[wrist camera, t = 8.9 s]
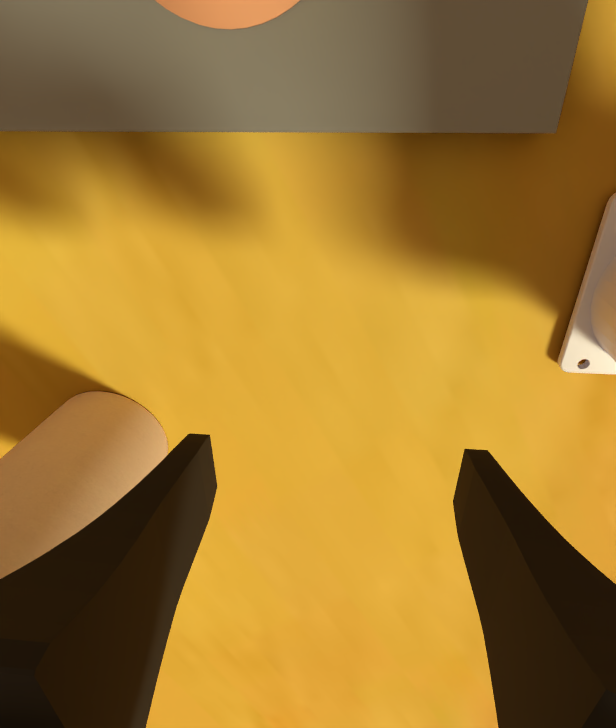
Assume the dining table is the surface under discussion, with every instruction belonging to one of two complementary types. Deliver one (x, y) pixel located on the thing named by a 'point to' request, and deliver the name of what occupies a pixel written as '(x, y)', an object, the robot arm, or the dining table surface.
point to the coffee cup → (73, 472)
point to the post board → (286, 65)
